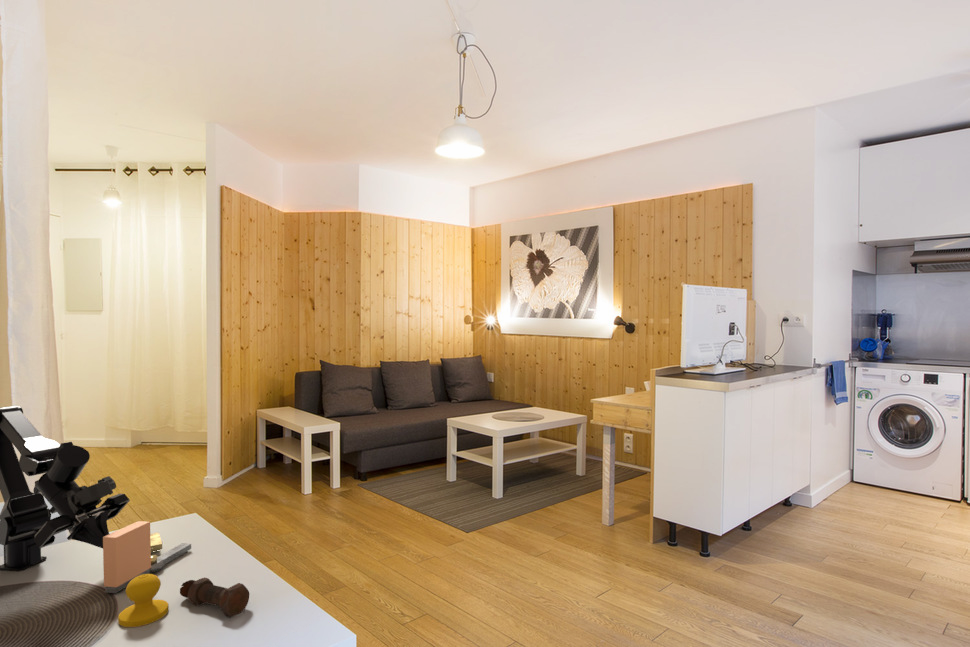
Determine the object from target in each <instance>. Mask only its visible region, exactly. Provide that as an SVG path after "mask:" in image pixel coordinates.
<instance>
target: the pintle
mask: <svg viewBox="0 0 970 647" xmlns="http://www.w3.org/2000/svg"><path fill="white" fill-rule="evenodd" d="M157 557H158V555H157V554H151V564H154V563H156V562H157Z"/></svg>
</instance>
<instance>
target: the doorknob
mask: <svg viewBox="0 0 970 647" xmlns="http://www.w3.org/2000/svg"><path fill="white" fill-rule="evenodd" d="M161 582H162V581H161V580H160V578H159V577H158V576H157V575H156V574H153V573H149V574H143V575H140V576H137V577H135V578H134V579H132V580H131V581H130V582H129V584H128V585H127V587H125V595H126V597H127V598H128V599H129V600H130V601H132V603H134V604H132V605H129V606H127V607H126V608H124V609H123V610H122V611H120V613H119V614H118V616H117V617H118V618H117V619H118V620H117V622H118V624H119V625H120V626H121V627H124V628H137V627H142V626H146V625H149V624H151V623H154V622H157V621H159V620H161V619H162V618H163V617H165V616H166V615H167V613H168V612H169V609H170V608H169V603H168V602H167V601H166V600H164V599H154V597H155V596H156V595H157V593H158V592H159V590H160V589H161V586H162V583H161Z"/></svg>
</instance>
